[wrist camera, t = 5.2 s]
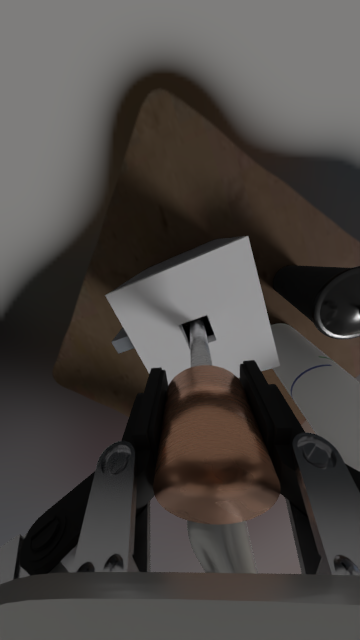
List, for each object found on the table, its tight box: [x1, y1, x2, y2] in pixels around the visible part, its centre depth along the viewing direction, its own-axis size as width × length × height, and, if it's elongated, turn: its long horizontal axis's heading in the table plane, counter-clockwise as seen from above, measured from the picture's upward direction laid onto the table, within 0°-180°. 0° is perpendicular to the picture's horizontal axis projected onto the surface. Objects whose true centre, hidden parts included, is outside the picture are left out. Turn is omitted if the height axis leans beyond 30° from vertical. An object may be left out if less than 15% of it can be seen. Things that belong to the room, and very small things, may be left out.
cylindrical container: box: [271, 323, 360, 472], centre depth 24 cm, size 7×7×25 cm
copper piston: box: [153, 315, 280, 525], centre depth 17 cm, size 9×9×23 cm
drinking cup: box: [273, 266, 360, 339], centre depth 22 cm, size 8×8×20 cm
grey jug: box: [105, 236, 280, 386], centre depth 25 cm, size 16×12×17 cm
